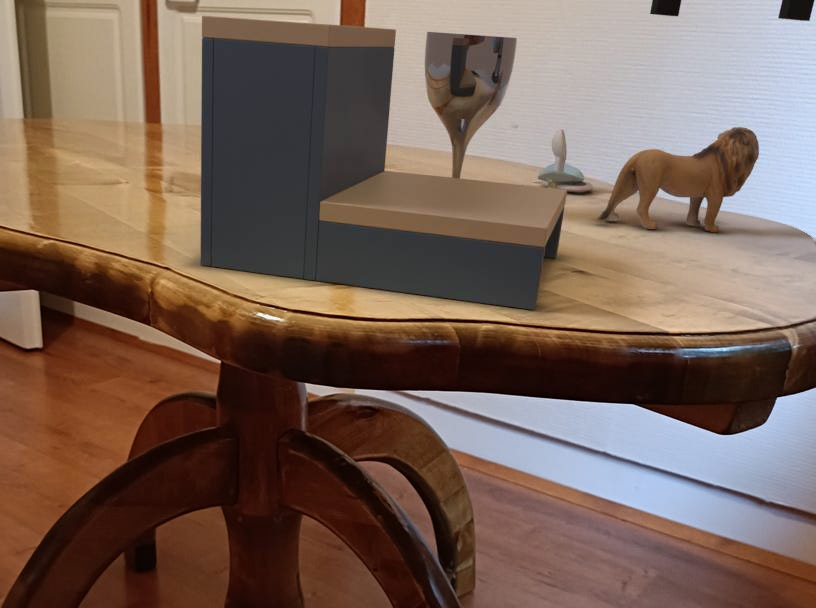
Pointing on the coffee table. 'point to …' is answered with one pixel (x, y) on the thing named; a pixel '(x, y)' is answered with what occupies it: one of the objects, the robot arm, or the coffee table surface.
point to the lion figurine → (688, 177)
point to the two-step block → (347, 175)
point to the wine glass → (466, 83)
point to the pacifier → (563, 169)
